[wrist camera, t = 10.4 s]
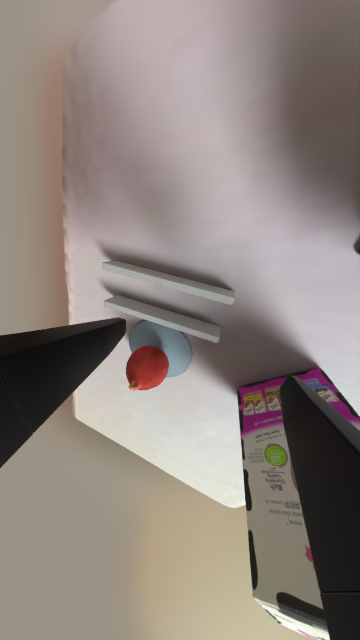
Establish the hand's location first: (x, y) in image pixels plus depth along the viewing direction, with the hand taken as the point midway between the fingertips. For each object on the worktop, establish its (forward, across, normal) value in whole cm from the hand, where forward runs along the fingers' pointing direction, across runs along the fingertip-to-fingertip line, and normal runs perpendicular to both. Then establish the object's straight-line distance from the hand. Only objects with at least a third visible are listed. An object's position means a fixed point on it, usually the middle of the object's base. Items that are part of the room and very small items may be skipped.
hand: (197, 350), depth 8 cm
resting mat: (+12, +6, +12) cm, 18 cm away
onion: (+12, +6, +11) cm, 17 cm away
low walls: (+12, +6, +2) cm, 14 cm away
